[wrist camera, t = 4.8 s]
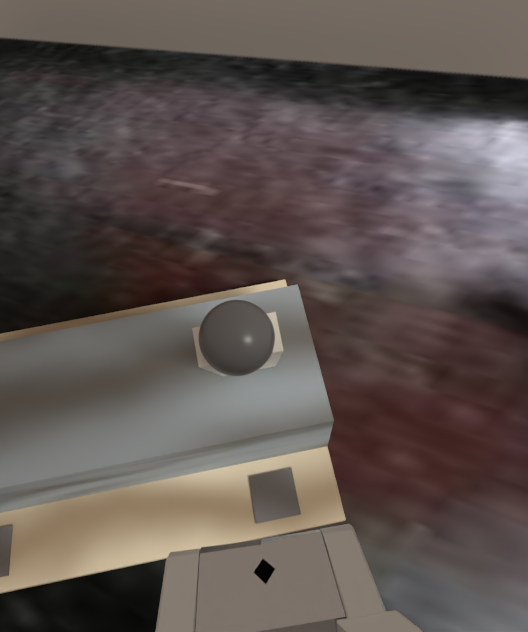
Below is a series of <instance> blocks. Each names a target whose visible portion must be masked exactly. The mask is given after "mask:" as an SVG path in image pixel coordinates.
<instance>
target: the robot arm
mask: <svg viewBox="0 0 528 632" xmlns="http://www.w3.org/2000/svg"><path fill="white" fill-rule="evenodd" d="M156 632H423V631H422V630H421V629H419V628H418V627H417V626H416V625H414V624H413V623H412V622H411V621H409V620H408V619H407V618H406V617H404V616H403V615H402V614H401V613H399V612H398V611H397V610H395V611H387V612H386V610H385V607H384V604H383V602H382V599H381V597H380V594H379V592H378V589H377V587H376V584H375V582H374V579H373V577H372V574H371V571H370V569H369V566H368V564H367V561H366V559H365V556H364V554H363V551H362V549H361V546H360V544H359V541H358V538H357V536H356V533H355V531H354V528H353V527H352V526H351V525H350V524H345V525H339V526H334V527H328V528H323V529H320V530H313V531H307V532H301V533H295V534H289V535H283V536H277V537H271V538H266V539H261V540H253V541H246V542H238V543H231V544H223V545H216V546H208V547H201V549H191V550H184V551H176V552H170V553H169V556H168V558H167V560H166V565H165V572H164V578H163V585H162V592H161V598H160V605H159V612H158V619H157V625H156Z"/></svg>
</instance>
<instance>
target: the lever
mask: <svg viewBox="0 0 528 632" xmlns="http://www.w3.org/2000/svg"><path fill="white" fill-rule="evenodd" d="M192 331H193V337H194V342H195V348H196V354H197V360H198V366H199V367H200V368H202V369H205V370H208V371H211V372H213V373H216V374H219V375H221V376H228V375H229V376H244V375H248V374H251V373H253V372H255V371H257V370H258V369H263V368H268V367H273V366H276V364H277V362H278V360H279V358H280V356H281V355H282V353H283V351H284V350H283V345H282V340H281V335H280V331H279V326H278V321H277V316H276V312H272V313H267V314H266V313H265V312H264V311H263V310H262V309H261V308H260V307H258V306H257V305H255V304H253V303H251V302H248V301H244V300H230V301H226V302H223V303H220V304H219V305H217V306H215V307H214V308H213V309H211V310H210V311H209V312H208V314H207V315H206V316H205V318H204V319H203V321H202V324H201V326H199V327H194V328H192Z"/></svg>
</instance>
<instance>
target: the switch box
mask: <svg viewBox="0 0 528 632" xmlns="http://www.w3.org/2000/svg"><path fill="white" fill-rule="evenodd" d="M230 300H244V301H248V302H251V303H253V304H255V305H257V306H258V307H260V308H261V309H262V310H263V311H264V312H265V313H266V314H267V313H272V312H276V316H277V321H278V326H279V331H280V335H281V340H282V345H283V350H284V351H283V353H282V355H281V356H280V358H279V360H278V362H277V364H276V366H273V367H268V368H263V369H258V370H257V371H255V372H253V373H251V374H248V375H244V376H229V375H228V376H221V375H219V374H216V373H213V372H211V371H208V370H205V369H202V368H200V367H199V366H198V360H197V354H196V348H195V342H194V337H193V331H192V328H194V327H199V326H201V324H202V321H203V319H204V318H205V316H206V315H207V314H208V312H209V311H210V310H211V309H213V308H214V307H215V306H217V305H219V304H220V303H223V302H226V301H230ZM333 422H334V419H333V416H332V412H331V408H330V404H329V401H328V397H327V393H326V389H325V386H324V382H323V378H322V374H321V371H320V367H319V363H318V359H317V356H316V352H315V348H314V344H313V340H312V337H311V333H310V329H309V325H308V322H307V318H306V314H305V310H304V307H303V303H302V299H301V295H300V292H299V288H298V285H293V286H287V284H286V280H280V281H275V282H270V283H264V284H259V285H254V286H249V287H243V288H238V289H233V290H228V291H222V292H217V293H212V294H207V295H201V296H196V297H191V298H186V299H180V300H175V301H170V302H165V303H159V304H154V305H149V306H144V307H138V308H133V309H128V310H123V311H117V312H112V313H107V314H102V315H96V316H91V317H86V318H81V319H75V320H70V321H65V322H60V323H54V324H49V325H44V326H39V327H33V328H28V329H23V330H18V331H12V332H7V333H2V334H0V593H5V592H10V591H15V590H19V589H24V588H29V587H34V586H38V585H43V584H48V583H53V582H57V581H62V580H67V579H72V578H76V577H81V576H86V575H91V574H95V573H100V572H105V571H110V570H114V569H119V568H124V567H129V566H134V565H138V564H143V563H148V562H153V561H157V560H162V559H167V558H168V556H169V553H170V552H176V551H184V550H191V549H201V547H208V546H216V545H223V544H231V543H238V542H246V541H252V540H257V539H262V538H267V537H271V536H276V535H281V534H286V533H290V532H295V531H300V530H305V529H310V528H314V527H319V526H324V525H329V524H333V523H338V522H343V521H345V520H346V519H345V515H344V511H343V507H342V503H341V499H340V495H339V491H338V487H337V483H336V479H335V475H334V471H333V467H332V463H331V459H330V455H329V451H328V447H327V445H328V441H329V438H330V434H331V430H332V426H333Z"/></svg>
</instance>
